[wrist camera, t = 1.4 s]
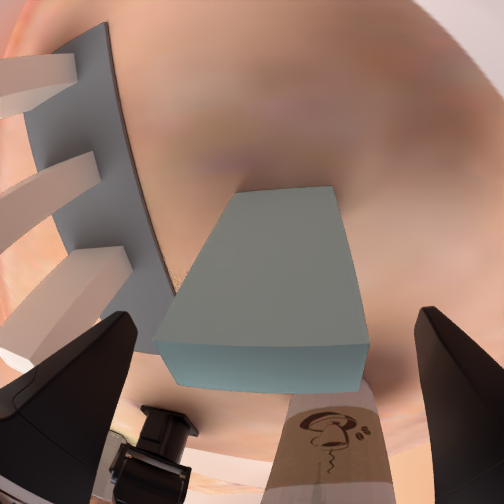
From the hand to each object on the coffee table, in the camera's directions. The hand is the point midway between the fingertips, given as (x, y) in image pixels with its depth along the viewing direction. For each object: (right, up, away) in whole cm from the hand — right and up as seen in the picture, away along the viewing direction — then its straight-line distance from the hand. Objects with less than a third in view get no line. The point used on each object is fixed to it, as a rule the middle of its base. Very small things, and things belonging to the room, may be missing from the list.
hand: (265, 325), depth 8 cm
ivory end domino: (-13, +13, +4) cm, 19 cm away
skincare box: (-29, -36, +38) cm, 60 cm away
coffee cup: (+7, -11, +16) cm, 20 cm away
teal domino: (+1, +4, +7) cm, 8 cm away
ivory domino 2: (-11, +2, +11) cm, 15 cm away
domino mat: (-11, +4, +9) cm, 15 cm away
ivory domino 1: (-12, +7, +7) cm, 16 cm away
